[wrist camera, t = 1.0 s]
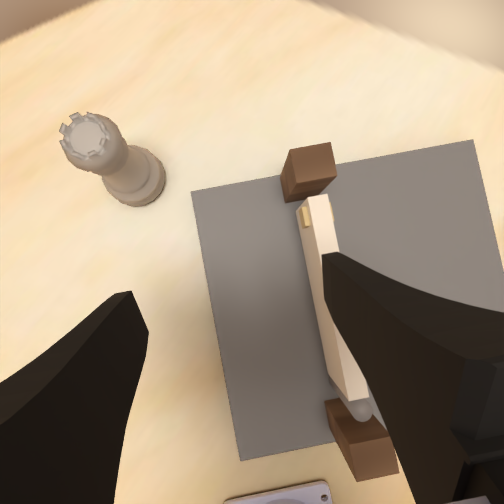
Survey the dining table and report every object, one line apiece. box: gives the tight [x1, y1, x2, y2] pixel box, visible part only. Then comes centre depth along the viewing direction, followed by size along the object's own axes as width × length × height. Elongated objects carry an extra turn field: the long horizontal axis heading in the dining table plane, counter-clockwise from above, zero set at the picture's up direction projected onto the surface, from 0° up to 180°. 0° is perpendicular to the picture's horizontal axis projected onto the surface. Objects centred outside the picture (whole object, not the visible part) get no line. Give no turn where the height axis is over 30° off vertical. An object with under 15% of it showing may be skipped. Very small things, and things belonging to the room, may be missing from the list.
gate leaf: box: [296, 194, 373, 422], centre depth 20 cm, size 13×2×5 cm, turn 11°
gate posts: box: [280, 142, 399, 482], centre depth 20 cm, size 19×2×6 cm, turn 11°
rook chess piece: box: [59, 112, 165, 206], centre depth 20 cm, size 4×4×8 cm
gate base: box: [191, 139, 504, 461], centre depth 23 cm, size 20×22×1 cm
